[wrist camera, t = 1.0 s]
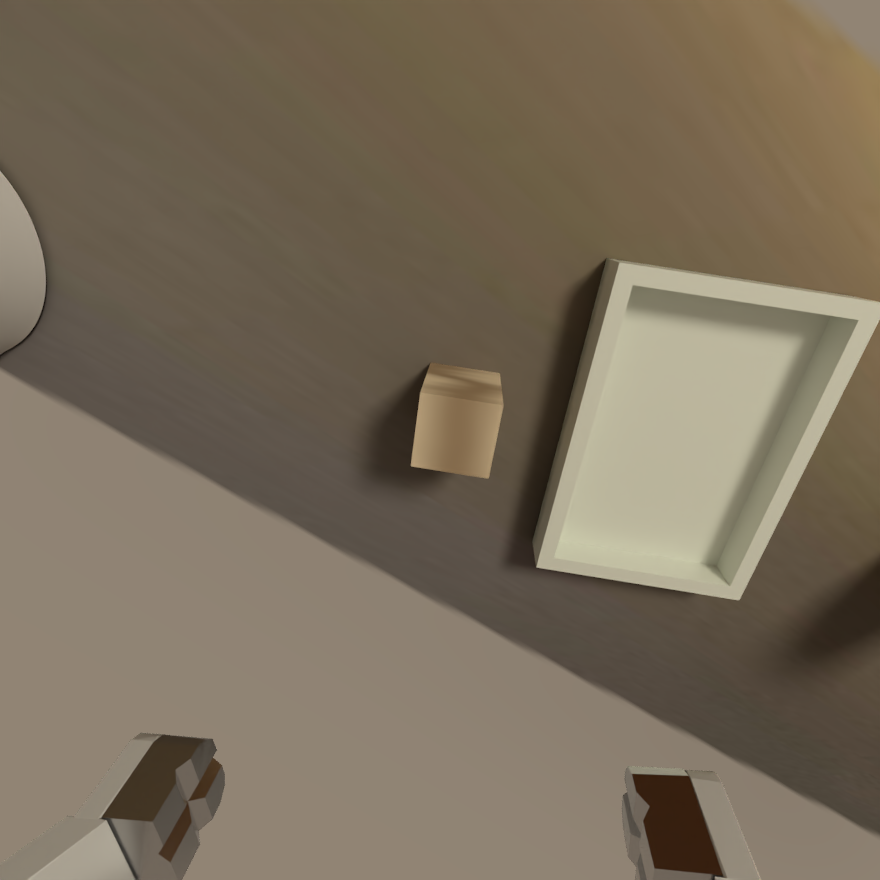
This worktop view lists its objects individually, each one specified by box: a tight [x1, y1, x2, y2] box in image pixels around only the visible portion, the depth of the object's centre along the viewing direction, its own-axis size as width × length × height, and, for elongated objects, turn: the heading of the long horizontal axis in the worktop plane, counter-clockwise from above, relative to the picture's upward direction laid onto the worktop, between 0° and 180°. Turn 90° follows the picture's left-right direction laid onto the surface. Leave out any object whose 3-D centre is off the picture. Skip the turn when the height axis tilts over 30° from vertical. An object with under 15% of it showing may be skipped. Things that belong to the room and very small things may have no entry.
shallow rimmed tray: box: [532, 258, 880, 600], centre depth 32 cm, size 14×20×3 cm
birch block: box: [411, 363, 503, 479], centre depth 30 cm, size 4×4×6 cm
